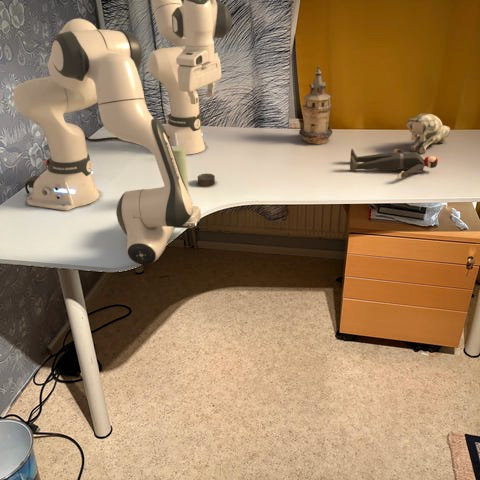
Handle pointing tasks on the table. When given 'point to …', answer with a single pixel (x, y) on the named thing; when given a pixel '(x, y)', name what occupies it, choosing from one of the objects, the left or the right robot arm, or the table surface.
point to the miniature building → (316, 112)
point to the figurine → (427, 131)
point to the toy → (393, 162)
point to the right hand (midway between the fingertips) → (202, 100)
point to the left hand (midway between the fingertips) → (170, 202)
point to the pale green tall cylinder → (181, 162)
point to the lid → (206, 180)
